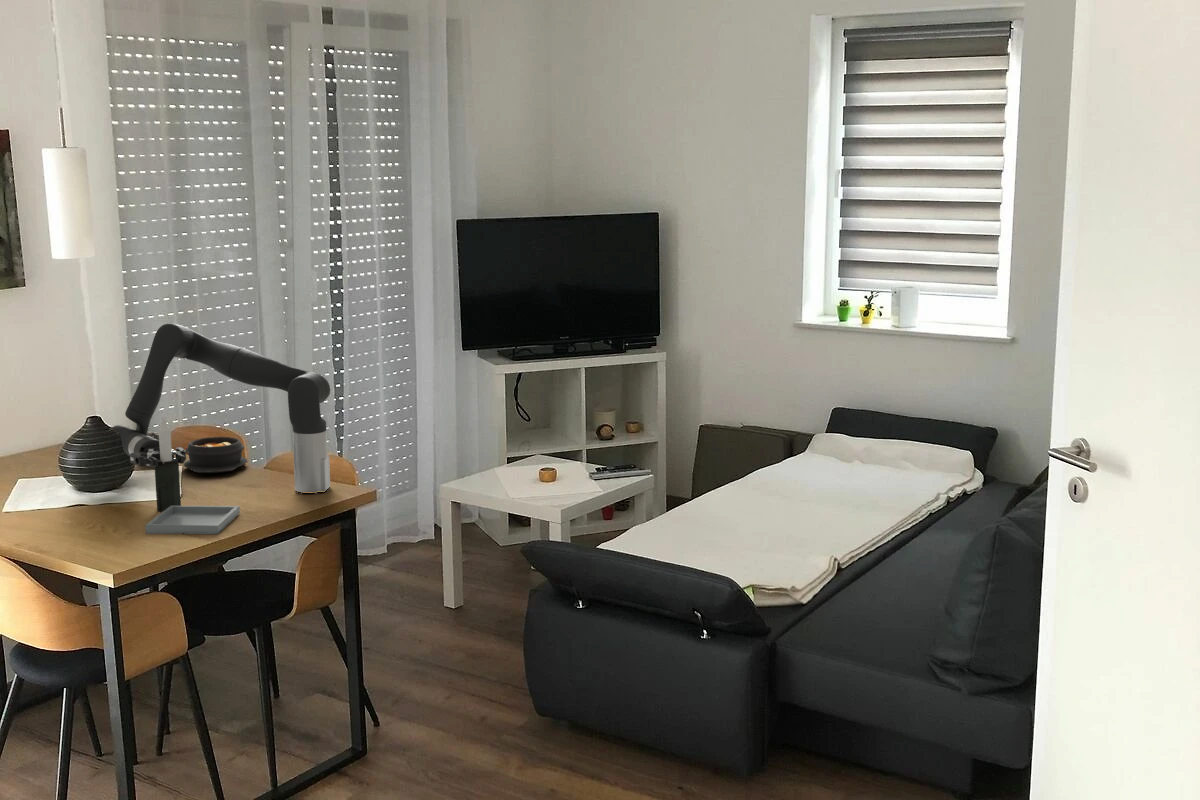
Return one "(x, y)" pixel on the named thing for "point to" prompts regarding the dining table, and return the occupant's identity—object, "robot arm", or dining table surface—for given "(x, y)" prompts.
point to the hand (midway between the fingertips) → (169, 461)
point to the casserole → (215, 455)
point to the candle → (166, 472)
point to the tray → (192, 520)
